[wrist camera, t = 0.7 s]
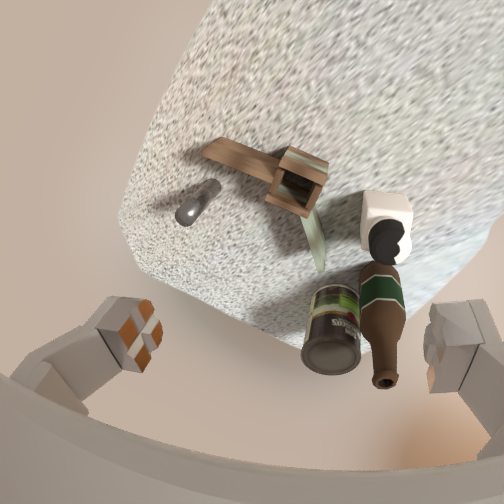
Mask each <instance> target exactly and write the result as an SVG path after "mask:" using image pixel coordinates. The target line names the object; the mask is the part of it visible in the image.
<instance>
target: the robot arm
mask: <svg viewBox="0 0 504 504" xmlns="http://www.w3.org/2000/svg"><path fill="white" fill-rule="evenodd" d="M153 313H154V307H153V305H152V303H151V301H149V300H147V299H139V298H129V297H117V296H111V297H108V298H107V299H106V300H105V301H104V302H103V303H102V304H101V305H100V307H99V308H98V309H97V310H96V311H95V312H94V314H93V315H92V316H91V317H90V318H89V319H88V321H87V322H86V323H85V324H84V325H83V326H79V327H77V328H75V329H73V330H71V331H69V332H68V333H66V334H64V335H62V336H60V337H58V338H56V339H55V340H53V341H51V342H49V343H47V344H45V345H44V346H42V347H40V348H38V349H36V350H35V351H33V352H31V353H29V354H28V355H27V356H26V357H25V359H24V360H23V361H22V362H21V364H20V365H19V366H18V367H17V368H16V370H15V371H14V372H13V373H12V375H11V376H10V377H9V378H8V377H6V376H4V375H3V374H1V373H0V504H504V342H502V340H501V337H500V335H499V333H498V330H497V327H496V325H495V323H494V320H493V318H492V316H491V313H490V311H489V308H488V306H487V304H486V302H485V301H484V300H483V299H475V300H467V301H454V302H439V303H438V302H436V303H432V305H431V307H430V312H429V317H430V322H431V323H430V324H429V325H428V326H427V327H426V330H425V335H424V358H425V361H426V362H427V363H428V364H429V368H428V371H427V379H428V386H429V393H446V392H458V394H459V395H460V396H461V398H462V399H463V400H464V402H465V403H466V404H467V405H468V407H469V408H470V409H471V411H472V412H473V413H474V415H475V416H476V417H477V419H478V420H479V421H480V423H481V424H482V425H483V427H484V428H485V429H486V431H487V432H488V433H489V435H490V436H491V439H490V440H489V442H488V443H487V444H486V445H485V446H484V448H483V449H482V450H481V451H480V452H479V453H478V454H477V460H475V461H470V462H463V463H457V464H450V465H443V466H435V467H426V468H415V469H402V470H380V471H340V470H318V469H304V468H292V467H284V466H275V465H267V464H260V463H253V462H247V461H241V460H235V459H229V458H225V457H220V456H215V455H210V454H205V453H200V452H197V451H192V450H188V449H184V448H180V447H176V446H173V445H169V444H166V443H162V442H159V441H155V440H152V439H149V438H145V437H142V436H139V435H136V434H133V433H130V432H127V431H124V430H121V429H118V428H116V427H113V426H110V425H108V424H105V423H102V422H100V421H97V420H95V419H92V418H90V417H87V415H88V414H89V412H88V409H87V408H86V407H85V405H84V404H83V403H82V401H83V400H85V399H86V398H87V397H88V396H90V395H91V394H92V393H94V392H95V391H96V390H98V389H99V388H100V387H101V386H103V385H104V384H105V383H107V382H108V381H109V380H110V379H112V378H113V377H114V376H116V375H117V374H118V373H120V372H121V371H122V369H123V370H128V371H133V372H138V373H143V371H144V370H145V368H146V366H147V365H148V363H149V361H150V360H151V352H152V351H154V350H155V349H157V348H158V347H159V345H160V343H161V341H162V336H163V330H162V325H161V323H160V320H159V319H158V318H157V317H155V316H154V315H153Z"/></svg>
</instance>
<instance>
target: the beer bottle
mask: <svg viewBox="0 0 504 504" xmlns="http://www.w3.org/2000/svg"><path fill="white" fill-rule="evenodd" d="M359 310H360V331H361V333H362V335H363V337H364V338H365V339H366V340H367V341H368V342H370V345H371V349H372V357H373V369H374V375H373V378H372V382H373V385H374V386H375V387H377V388H378V389H389V388H392V387H394V386H395V385H396V383H397V381H398V377H399V375H398V374H397V342H398V340H399V339H400V337H401V334H402V331H403V327H404V324H405V321H406V313H405V306H404V300H403V294H402V288H401V283H400V278H399V274H398V272H397V271H396V270H395V268H394V267H393V266H392V265H391V266H387V265H382V264H380V263H378V262H376V261H373V262H371V263H370V264H369V265H367V266H366V267H364V268H363V269H362V270H361V276H360V284H359Z"/></svg>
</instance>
